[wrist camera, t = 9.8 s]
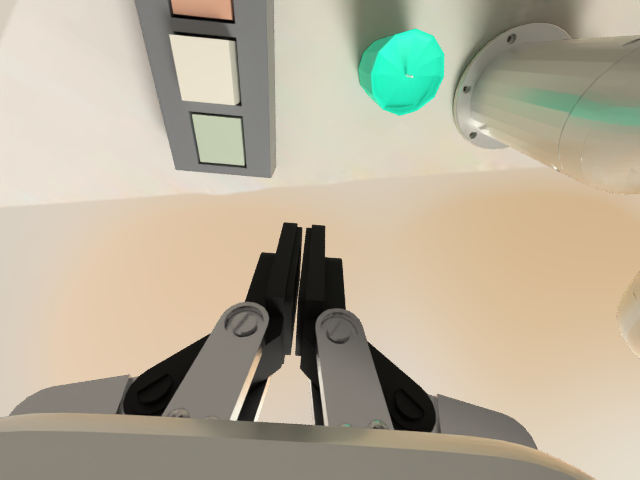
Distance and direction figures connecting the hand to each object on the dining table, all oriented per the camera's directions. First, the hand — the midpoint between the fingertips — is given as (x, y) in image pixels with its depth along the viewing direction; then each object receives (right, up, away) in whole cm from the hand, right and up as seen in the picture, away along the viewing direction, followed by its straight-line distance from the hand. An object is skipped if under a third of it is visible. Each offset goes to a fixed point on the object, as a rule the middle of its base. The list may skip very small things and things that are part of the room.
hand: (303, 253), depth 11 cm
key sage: (-11, +14, +23) cm, 29 cm away
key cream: (-11, +19, +17) cm, 28 cm away
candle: (+8, +20, +19) cm, 29 cm away
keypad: (-10, +20, +19) cm, 30 cm away
